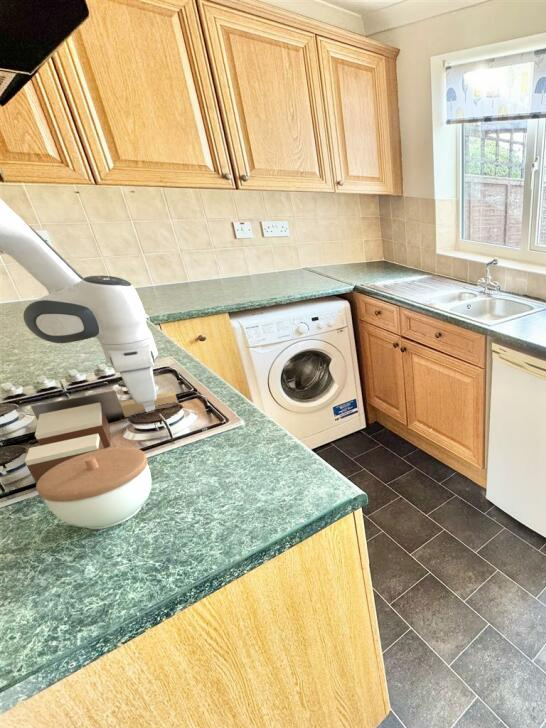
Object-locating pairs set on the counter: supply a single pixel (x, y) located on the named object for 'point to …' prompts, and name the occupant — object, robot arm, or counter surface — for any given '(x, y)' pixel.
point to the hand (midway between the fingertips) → (149, 405)
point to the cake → (73, 425)
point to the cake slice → (59, 453)
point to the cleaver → (102, 404)
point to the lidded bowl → (97, 487)
